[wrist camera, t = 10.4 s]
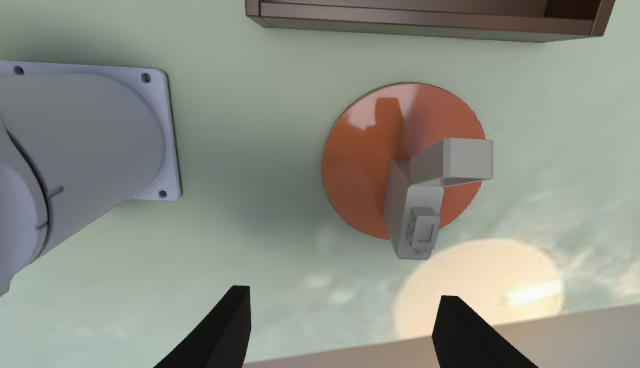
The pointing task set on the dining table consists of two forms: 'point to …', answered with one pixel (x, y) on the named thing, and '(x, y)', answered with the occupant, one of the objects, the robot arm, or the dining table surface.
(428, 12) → the tray
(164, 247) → the dining table surface
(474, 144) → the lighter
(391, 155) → the coaster
